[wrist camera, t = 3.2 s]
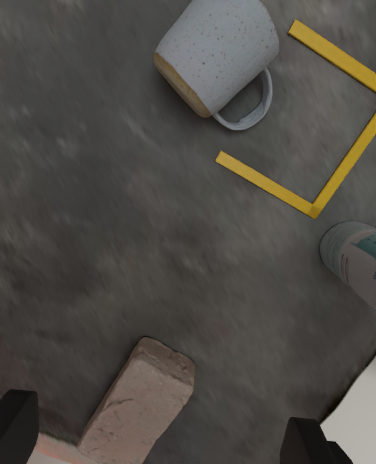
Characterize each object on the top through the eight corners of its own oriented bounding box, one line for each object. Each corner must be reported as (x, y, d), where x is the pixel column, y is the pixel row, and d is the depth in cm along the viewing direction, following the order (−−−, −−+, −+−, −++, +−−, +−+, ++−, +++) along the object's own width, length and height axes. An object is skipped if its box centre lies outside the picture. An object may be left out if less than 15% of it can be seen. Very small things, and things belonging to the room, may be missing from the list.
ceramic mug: (152, 70, 27) (138, 43, 20) (213, -2, 26) (222, -61, 18) (227, 150, 30) (239, 152, 22) (288, 89, 28) (323, 68, 21)
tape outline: (214, 160, 30) (215, 160, 30) (294, 20, 26) (295, 18, 26) (314, 218, 31) (315, 219, 31) (402, 93, 28) (404, 93, 28)
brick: (141, 332, 36) (133, 359, 31) (198, 361, 37) (199, 391, 32) (86, 419, 40) (72, 454, 35) (139, 443, 41) (132, 479, 36)
